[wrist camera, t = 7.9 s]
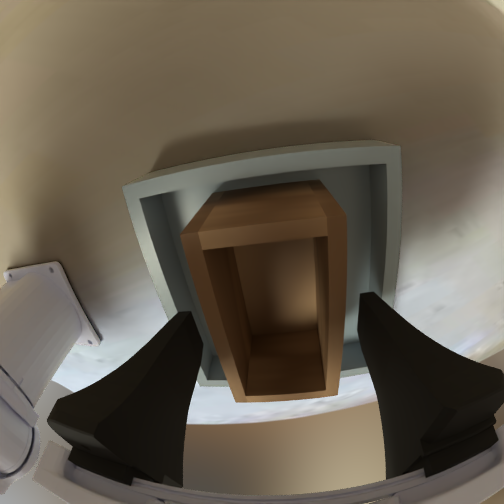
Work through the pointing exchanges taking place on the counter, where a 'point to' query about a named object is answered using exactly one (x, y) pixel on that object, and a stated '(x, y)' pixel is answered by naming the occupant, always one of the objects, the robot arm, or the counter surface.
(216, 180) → the grey crate
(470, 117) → the counter surface
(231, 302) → the walnut crate
